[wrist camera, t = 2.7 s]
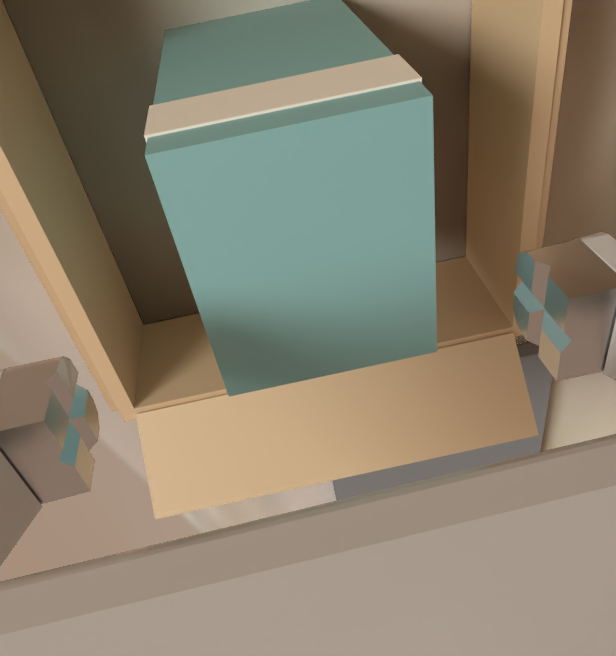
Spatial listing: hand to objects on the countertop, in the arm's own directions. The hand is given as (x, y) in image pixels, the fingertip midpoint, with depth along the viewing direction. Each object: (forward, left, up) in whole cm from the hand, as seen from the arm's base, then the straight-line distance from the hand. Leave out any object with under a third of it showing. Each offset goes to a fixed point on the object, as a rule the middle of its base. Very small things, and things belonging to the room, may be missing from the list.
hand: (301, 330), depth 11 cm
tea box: (-1, 0, -11) cm, 11 cm away
